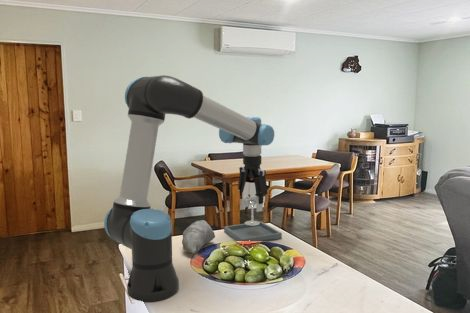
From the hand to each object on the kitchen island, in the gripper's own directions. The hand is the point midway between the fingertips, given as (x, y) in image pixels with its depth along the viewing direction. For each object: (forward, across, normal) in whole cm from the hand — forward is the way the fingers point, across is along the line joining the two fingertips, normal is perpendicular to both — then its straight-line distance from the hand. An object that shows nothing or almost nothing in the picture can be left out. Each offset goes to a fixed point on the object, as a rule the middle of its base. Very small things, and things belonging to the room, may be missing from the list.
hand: (252, 208), depth 164 cm
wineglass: (+6, 0, 0) cm, 6 cm away
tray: (+11, 0, 0) cm, 11 cm away
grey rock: (+12, +2, +26) cm, 28 cm away
